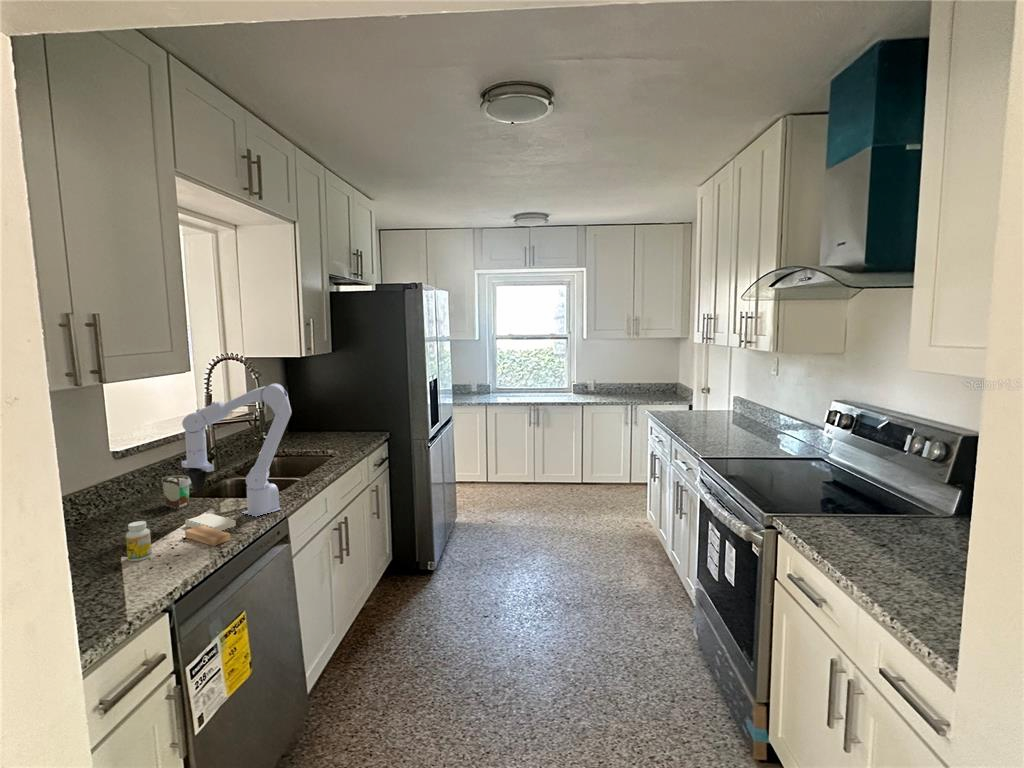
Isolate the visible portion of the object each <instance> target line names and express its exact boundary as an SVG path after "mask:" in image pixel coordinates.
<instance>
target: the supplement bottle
mask: <svg viewBox="0 0 1024 768" xmlns="http://www.w3.org/2000/svg"><path fill="white" fill-rule="evenodd" d="M127 530H128V532H127V533H126V534H125V541H126V542H125V544H126V554H127V560H128V561H129V562H139V561H144V560H147V559H149V558H151V556H152V554H153V553H152V540H151V530H150V529H149V528H147V522H146V521H145V520H139V521H133V522H130V523H128V524H127Z"/></svg>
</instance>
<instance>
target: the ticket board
mask: <svg viewBox="0 0 1024 768" xmlns="http://www.w3.org/2000/svg"><path fill="white" fill-rule="evenodd" d="M184 524H185V527H186V526H187V527H186V528H189V527H191V528H190V529H192V528H195V527H198V526H201V525H202V526H206V527H209V528H213V529H216V530H220V531H222V530H224V531H226V530H225V529H227V528H230V529H232V528H231V527H233V528H235V527H234V526H237V524H236V519H232V518H228V517H224V516H221V515H217V514H213V513H205V514H201V515H198V516H194V517H192V518H188V519H185V523H184ZM227 530H228V529H227Z"/></svg>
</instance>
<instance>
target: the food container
mask: <svg viewBox="0 0 1024 768" xmlns="http://www.w3.org/2000/svg"><path fill="white" fill-rule="evenodd" d="M161 484H162V489H163V499H164V505H165V506H166V507H169V506H170V508H172V507H173V509H176V508H177V509H176V510H179V509H180V510H183V509H185V508H184V507H186V506H187V505H188V504H190V485H192V482H191V480H190V478H189V476H188V475H184V474H183V475H182V474H181V475H180V474H179V475H178V474H177V475H170V476H169V475H168V476H161ZM188 506H189V505H188ZM188 506H187V507H188ZM187 507H186V508H187ZM182 508H183V509H182Z"/></svg>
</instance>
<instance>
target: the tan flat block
mask: <svg viewBox="0 0 1024 768" xmlns="http://www.w3.org/2000/svg"><path fill="white" fill-rule="evenodd" d="M184 535H185V538H186V539H187V538H188V539H191V540H193V541H196V542H200V543H203V544H207V545H209V546H213V547H215V546H218V545H220V544H223V543H226V542H229V541H231V533H230V532H226V531H220V530H216V529H213V528H209V527H206V526H202V525H201V526H198V527H195V528H188V529H186V530H185V531H184Z"/></svg>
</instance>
